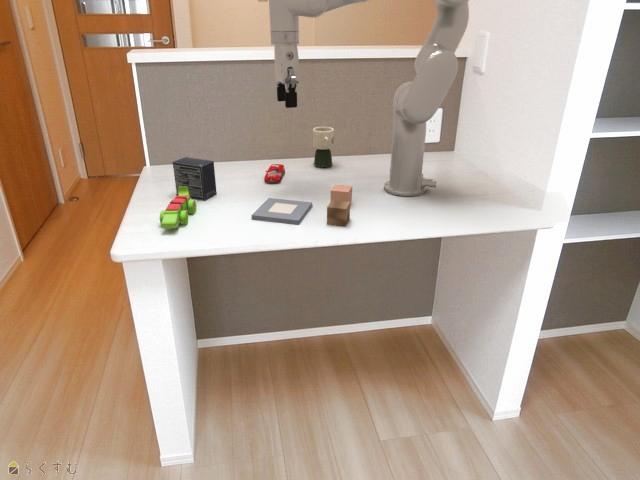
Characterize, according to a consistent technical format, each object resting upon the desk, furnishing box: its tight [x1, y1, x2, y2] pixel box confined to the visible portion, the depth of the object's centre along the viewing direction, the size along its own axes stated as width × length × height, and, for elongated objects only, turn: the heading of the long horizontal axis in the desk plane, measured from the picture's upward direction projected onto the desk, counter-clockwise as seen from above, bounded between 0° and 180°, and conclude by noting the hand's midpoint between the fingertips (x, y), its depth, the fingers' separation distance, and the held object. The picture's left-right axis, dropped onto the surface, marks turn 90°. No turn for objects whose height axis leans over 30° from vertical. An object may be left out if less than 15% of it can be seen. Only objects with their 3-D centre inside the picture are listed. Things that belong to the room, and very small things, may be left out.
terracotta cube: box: [330, 184, 353, 205], centre depth 140 cm, size 5×5×5 cm
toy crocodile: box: [159, 187, 197, 229], centre depth 131 cm, size 20×7×6 cm, turn 178°
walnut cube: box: [326, 199, 351, 228], centre depth 129 cm, size 5×5×5 cm
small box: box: [172, 156, 218, 202], centre depth 146 cm, size 11×6×10 cm, turn 65°
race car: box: [263, 163, 286, 184], centre depth 161 cm, size 13×5×4 cm, turn 173°
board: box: [251, 197, 313, 225], centre depth 136 cm, size 13×13×1 cm
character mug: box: [312, 126, 335, 168], centre depth 170 cm, size 11×7×13 cm, turn 14°
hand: (287, 104), depth 139 cm, fingers open, 9 cm apart
